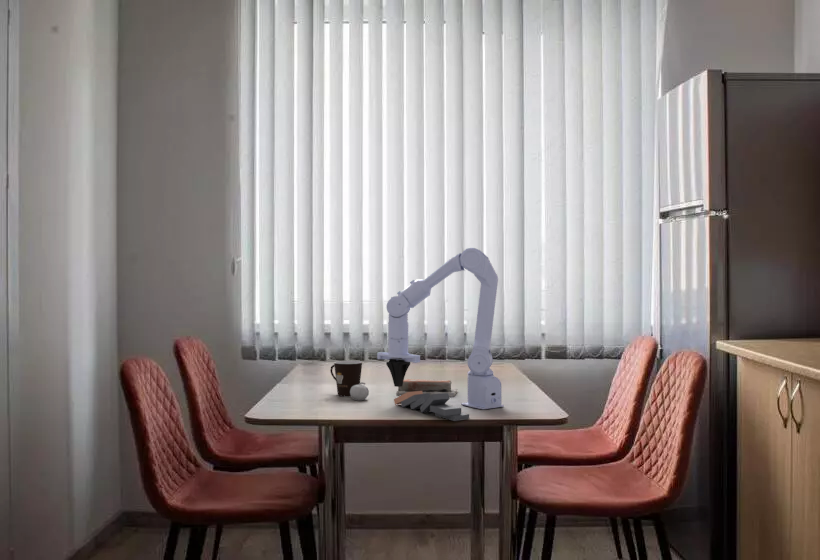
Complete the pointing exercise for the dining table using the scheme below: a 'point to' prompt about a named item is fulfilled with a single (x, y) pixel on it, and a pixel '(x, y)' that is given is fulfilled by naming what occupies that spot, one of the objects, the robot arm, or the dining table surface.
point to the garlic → (359, 391)
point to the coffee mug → (346, 375)
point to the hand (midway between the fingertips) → (398, 386)
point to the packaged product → (426, 387)
